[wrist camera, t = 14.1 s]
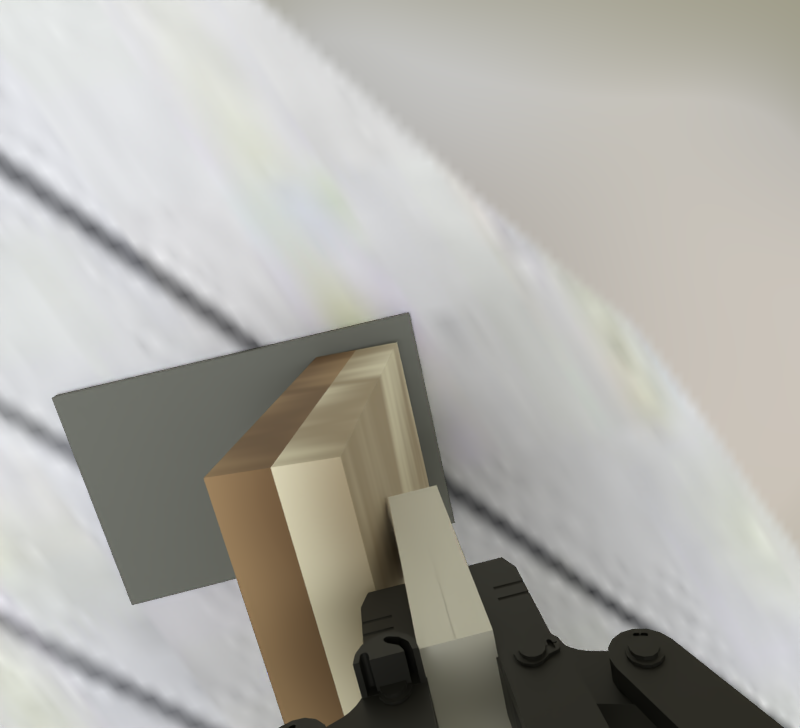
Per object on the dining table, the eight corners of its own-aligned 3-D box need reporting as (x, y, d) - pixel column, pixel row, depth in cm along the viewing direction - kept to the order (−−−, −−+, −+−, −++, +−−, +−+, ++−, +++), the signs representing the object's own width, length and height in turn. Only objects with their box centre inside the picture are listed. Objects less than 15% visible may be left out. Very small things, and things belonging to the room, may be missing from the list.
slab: (359, 524, 27) (288, 736, 16) (316, 357, 25) (203, 478, 14) (435, 514, 26) (411, 728, 16) (396, 342, 24) (340, 456, 14)
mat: (135, 599, 27) (131, 605, 27) (56, 395, 25) (51, 398, 24) (453, 518, 28) (454, 522, 27) (407, 312, 25) (409, 313, 25)
